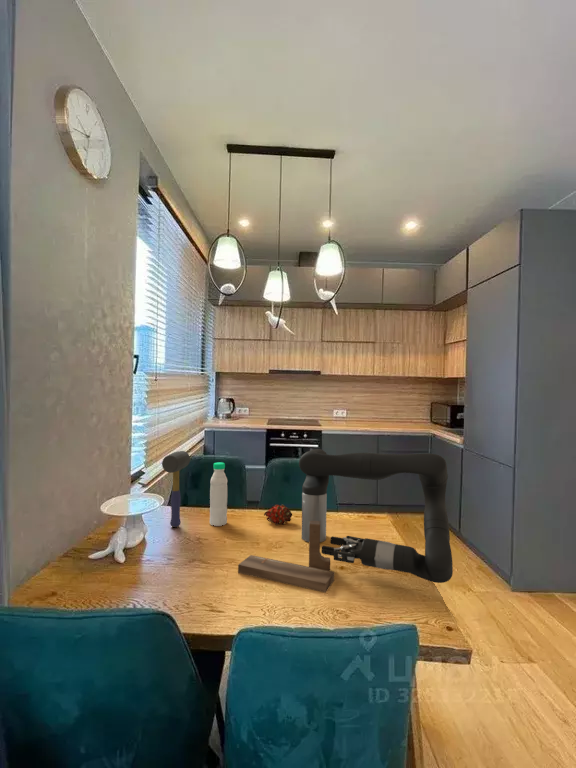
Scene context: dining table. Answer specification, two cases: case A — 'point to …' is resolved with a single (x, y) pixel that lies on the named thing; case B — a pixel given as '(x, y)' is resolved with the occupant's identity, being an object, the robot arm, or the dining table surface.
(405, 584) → the dining table surface
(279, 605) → the dining table surface
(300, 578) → the walnut plank
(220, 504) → the water bottle
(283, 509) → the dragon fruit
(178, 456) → the rubber mallet
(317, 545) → the wooden block
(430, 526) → the robot arm
